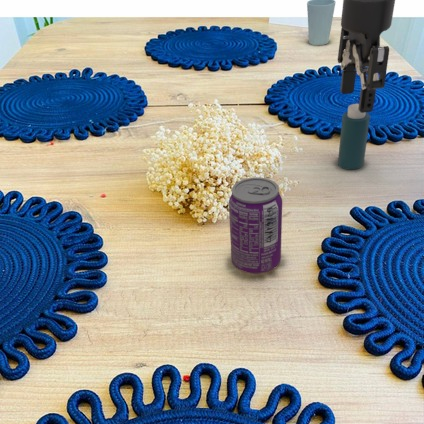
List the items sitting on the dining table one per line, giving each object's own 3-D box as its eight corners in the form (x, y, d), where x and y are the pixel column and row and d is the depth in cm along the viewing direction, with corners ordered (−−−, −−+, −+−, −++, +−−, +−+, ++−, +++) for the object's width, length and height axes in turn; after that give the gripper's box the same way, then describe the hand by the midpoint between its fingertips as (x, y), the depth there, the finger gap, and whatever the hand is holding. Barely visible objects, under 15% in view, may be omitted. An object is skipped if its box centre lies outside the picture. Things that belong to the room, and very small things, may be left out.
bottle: (358, 156, 99) (365, 100, 92) (367, 167, 96) (375, 110, 89) (334, 159, 99) (339, 103, 92) (342, 171, 95) (348, 113, 88)
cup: (307, 47, 149) (309, 6, 142) (302, 39, 155) (304, -1, 148) (334, 45, 149) (338, 4, 142) (329, 37, 155) (332, -3, 148)
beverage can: (282, 249, 79) (284, 176, 71) (278, 279, 74) (280, 204, 66) (235, 246, 80) (232, 174, 72) (228, 276, 75) (224, 202, 67)
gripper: (415, 1, 74) (394, 115, 84) (375, -19, 84) (361, 85, 95) (363, 7, 73) (349, 121, 84) (329, -15, 84) (320, 89, 94)
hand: (355, 101), depth 89 cm, fingers open, 8 cm apart
